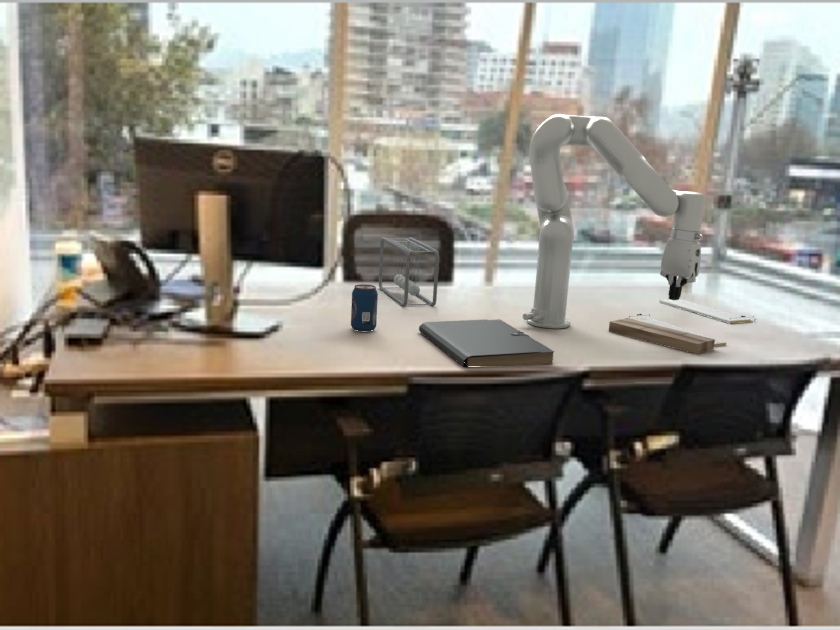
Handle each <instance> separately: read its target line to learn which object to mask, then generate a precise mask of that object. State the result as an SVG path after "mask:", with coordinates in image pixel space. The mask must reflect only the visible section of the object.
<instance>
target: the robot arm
mask: <svg viewBox="0 0 840 630" xmlns="http://www.w3.org/2000/svg"><path fill="white" fill-rule="evenodd" d="M563 145H566V146H576V147H577V146H579V147H591V148H592V149H594V150H595V151H596V153H597V154H598V155H599V156H600V157H601V158H602V160H604V161H605V163H606V164H607V165H608V166H609V167H610V169H611V170H613V172H614V173H615V174H616V175H617V176H618V177H619V178H620V179H621V180H622V181H623V182H625V184H627V185H628V186H629V187H630V188H631V190H633V191H634V192H635V193H636V194H637V195H638V196H639V197H640V199H641V200H642V201H643V202H644V203H645V204H646V206H648V208H649V209H650V211H651V212H652V213H654V214H655V215H656V216H658V217H662V218H667V217H670V216H672V215H673V220H672V226H671V231H670V233H671V234H670V237H669V238H668V239H667V241H666V243H665V247H664V249H663V253H662V255H661V256H662V257H661V260H660V261H661V262H660V273H659V275H660V276H661V277H663V278H665V279H666V280H667V282H668V285H669V288H668V289H669V290H668V295H667V296H668V300H671V299H672V300H679V299H681V296H682V291H683V290H682V289H683V287H685V286H686V285H687V284H691V283H692V284H693V283H696V280H697V279H696V278H697V277H699V275H700V268H701V262H702V261H701V257H702V247H701V242H699V240H703V238H704V236H703V234H701V227H702V220H703V215H704V211H705V205H706V196H705V194H703V193H701V192H699V191H698V192H697V191H690V190H688V191H687V190H683V191H681V190H675V189H672V188H671V187H670V186H669V185H668V183H667V182H666V181H665V180H664V179H663V178H662V177H661V176H660V175H659V174H658V173H657V172H656V170H655V169H654V168H653V167H652V165H651V164H650V163H649V162H648V160H647V159H646V158H645V156H644V155H643V154H642V153H641V152H640V151H639V150H638V148H637V147H636V146H635V145H634V144H633V143H632V142H631V140H629V138H628V137H627V136H626V135H625V134H624V132H623V131H622V130H620V128H619V127H618V126H617V125H616V124H615V123H614V122H613V121H612V120H611V119H610V118H608V117H606V116H585V115H584V116H583V115H571V114H563V113H556V114H552V115H551V116H549V117H548V118H546V119H545V120H544V121H543V122H542V123H541V124H540V125H539V126H538V127H537V129H536V130H535V131H534V132H533V135H532V137H531V140H530V143H529V150H528V151H529V152H528V153H529V154H528V155H529V156H528V157H529V166H530V170H531V171H530V172H531V179H532V184H533V199H534V201H535V202H534V203H535V205H536V210H537V215H538V216H537V217H538V222H539V227H540V229H539V235H538V237H539V238H538V251H537V259H536V261H537V263H536V272H535V273H536V275H535V284H534V285H535V287H534V295H533V296H534V297H533V307H532V308H531V309H530V310H531V311H530V312H526V313H524V314H523V315H522V319H523V320H524V321H526V322H527V323H528V324H529V325H531V326H535V327H538V328H544V329H545V328H546V329H564V328H568V327H570V326H571V321H570V320H569V319H567V318H566V314H567V306H568V305H567V303H568V295H569V293H568V292H569V282H570V273H571V272H570V271H571V263H572V261H571V260H572V255H573V254H572V252H573V247H574V245H573V244H574V238H575V235H574V234H575V231H574V230H575V229H574V226H573V225H574V224H573V219H572V218H573V217H572V212H571V206H570V201H569V195H568V189H567V186H566V184H565V182H564V180H565V179H564V177H563V176H564V175H563V171H562V162H561V153H560V152H561V149H562V146H563Z"/></svg>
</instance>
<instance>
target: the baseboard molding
mask: <svg viewBox="0 0 840 630" xmlns="http://www.w3.org/2000/svg"><path fill="white" fill-rule="evenodd" d="M659 303H660V304H664V305H667V306H670V307H673V308H676V307H677V309H679V308H681V309H680V310H682V309H684V310H683V311H686V310H688V311H687V312H689V311H691V312H690V313H692V312H695V313H694V314H696V313H699V314H702V315H705V316H709V317H712V318H715V319H718V320H721V321H720V322H722V321H725V322H728V323H735V324H740V323H739V322H747V323H754V322H755V323H756V320H757V318H754V317H755V316H754V315H753V316H752V318H753V319H754V320H753V319H750V318H749V317H747V316H746V315H737V314H733V313H731V312H727V311H723V310H719V309H716V308H712V307H709V306H706V305H702V304H699V303H695V302H693V301H690V300H685V299H682V298H679V300H672V299H671V300H670V299H669V298H668V299H659ZM699 314H698V315H699ZM702 315H701V316H702ZM705 316H704V317H705ZM709 317H708V318H709ZM712 318H711V319H712ZM715 319H714V320H715ZM718 320H717V321H718ZM725 322H724V323H725ZM728 323H727V324H728Z"/></svg>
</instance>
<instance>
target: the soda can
mask: <svg viewBox="0 0 840 630" xmlns="http://www.w3.org/2000/svg"><path fill="white" fill-rule="evenodd" d="M378 293H379V292H378V291H377V286H375V285H373V284H355V285H354V287H353V289H352V291H351V312H350V326H351V328H352V330H353V329H354V330H358V331H371V330H373V331H375V329H376V327H377V324H378V323H377V319H378V317H377V315H378V297H379V294H378ZM354 330H353V331H354Z"/></svg>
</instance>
